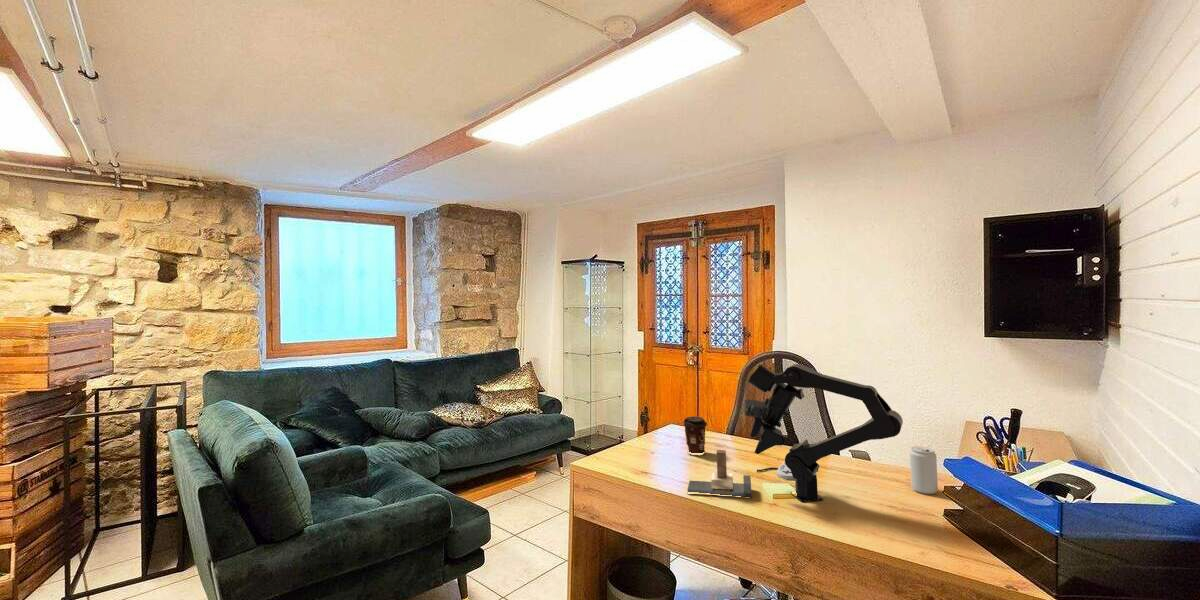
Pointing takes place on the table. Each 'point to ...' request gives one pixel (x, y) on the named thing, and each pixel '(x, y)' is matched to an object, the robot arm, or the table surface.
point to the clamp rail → (738, 489)
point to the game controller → (782, 472)
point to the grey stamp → (722, 473)
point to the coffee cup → (695, 434)
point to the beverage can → (923, 470)
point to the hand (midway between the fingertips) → (753, 444)
